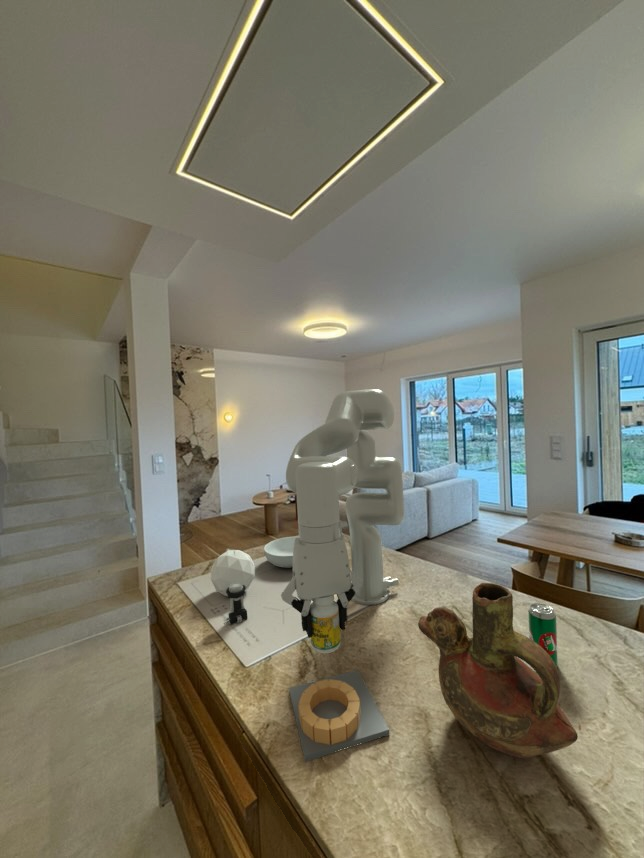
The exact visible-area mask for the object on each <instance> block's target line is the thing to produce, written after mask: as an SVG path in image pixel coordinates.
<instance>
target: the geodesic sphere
mask: <svg viewBox="0 0 644 858" xmlns="http://www.w3.org/2000/svg"><path fill="white" fill-rule="evenodd" d="M225 550H226V551H225V552H223V553H222V554H221V555H219V556H218V557H217V558H216V560H215V561H214V563H213V564H212V566H211V568H210V571H211V572H210V580H211V583H212V585H213V587H214V589H215V592H218V593H220V594H222V595H224V596H226V597H228V595H227V593H226V589H227V588H228V587H229V586H230V585H231V584H233V583H237V582H239V583H242V585H244V586H245V587H246V590H248V589H249V587H250V586H251V584H252V582H253V581H254V579H255V575H256V574H255V572H256V567H255V563H254V561H253V559H252V557H251V556H250V554H248V553H246V552H245V551H242V550H240V549H235V548H234V549H233V548H230V547H229V548H226V549H225Z"/></svg>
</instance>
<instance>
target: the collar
mask: <svg viewBox="0 0 644 858" xmlns="http://www.w3.org/2000/svg"><path fill="white" fill-rule="evenodd" d="M326 700H335V701H339V702H341V703H342V704H344V705H345V706H346V707H347V710H346V711H345V712H344V713H343V714H342V715H341V716H340V717H337V718H334V719H330V720H329V719H323V718H319V717H318V716H316V715H315V714H314V713H313V712H312V710H313V708H314V707H315V706H316V705H317V704H319V703H320V702H322V701H326ZM298 708H299V720H300V724H301V728H302V730H303V732H304V733H305V734H306V735H307V736H308V737H309V738H310V739H312V740H313V741H314V740H315V742H319V743H324V744H329V745H330V742H331V744H335V743H338V742H341V741H345V740H346V738H349V737H350V736H351V735H352V734H353V733H354V732H355V731H356V730H357V729H358V727H359V722H360V716H361V711H360V699H359V697H358V695H357V693H356V691H355V690H354V688H353V687H351V686H350V685H348V684H347V683H345V682H343V683H342V681H339V680H332V679H329V681H328V679H327V680H323V681H319V682H315V684H314V683H313V684H312V685H311V686H309V687H308V688H307V689H306V690H305V691H304V692H303V693H302V696H301V698H300V701H299V703H298Z"/></svg>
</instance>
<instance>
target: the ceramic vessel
mask: <svg viewBox="0 0 644 858" xmlns="http://www.w3.org/2000/svg"><path fill="white" fill-rule="evenodd" d="M513 599H514V597H513V594H512V592H511V591H510V590H509V589H508V588H507V587H505V586H502V585H501V584H498V583H493V582H481V583H479V584H478V585H477V586H475V587H474V589H473V591H472V602H471V603H472V618H471V619H472V637H469V636H468V634H467V628H466V626H465V624H464V622H463V621H462V619H461V618H459V616H458V615H457V614H456V612H454V611H453V610H451V609H449V608H445V607H443V606H442V607H436V608H433V609H432V611H429V612H428V613H427V616H425V615H424V616H420V618H419V619H418V623H417V625H418V629H419V631H421V633H422V634H423V635H425V636H426V637H427V638H428V639H429V640H430V641H432V642H433V643H434V644H435V645H436V646H437V647H438V649H439V663H438V680H439V686H440V689H441V694H442V697H443V699H444V702H445V703H446V705H447V707H448V708H449V710H450V711H451V713H452V715H453V717H454V718H455V719H456V721H457V722H459V723H460V724H461V725H462V726H463V728H465V729H466V730H467V731H468V732H469V733H470V734H472V735H473V736H474V737H476V738H478V739H479V740H480V741H481V742H482V743H483V744H485V745H487V746H488V747H490V748H492V749H493V750H496V751H498V752H500V753H501V752H502V753H503V754H507V755H508V756H511V757H515V758H520V759H528V758H531V757H534V756H540V755H547V754H551V753H553V752H557V751H559V750H560V751H561V750H563V749H566V748H567V747H569V746H571V745H573V744H574V743H576V741H577V740H578V733H577V731H576V729H575V728H574V726H573V724H572V723H571V722H570V721H569V719H568V717H567V716H566V714H565V712H564V711H563V710H562V709H561V707H560V706H559V704H558V701H559V697H560V693H561V692H560V691H561V679H560V674H559V672H558V667H557V666H556V665H555V663H554V661H553V660H552V658H551V657H550V655H549V654H548V653H547V652H546V651H545V650H544V649H543V648H542V647H541V646H540V645H538V644H537V643H536V642H534V641H533V640H531V639H530V638H529V637H527V636H526V635H524V634H522V633H519V632H518V631H515V630H514V626H513V625H514V624H513V621H514V606H513V602H514V601H513Z"/></svg>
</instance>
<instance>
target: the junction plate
mask: <svg viewBox="0 0 644 858" xmlns="http://www.w3.org/2000/svg"><path fill="white" fill-rule="evenodd" d="M327 679H328V681H329V679H332V680H339V681H342V683H343V682H345V683H347V684H348V685H350V686H351V687H353V688H354V690H355V691H356V693H357V695H358V697H359V699H360V711H361V716H360V722H359V727H358V729H357V730H356V731H355V732H354V733H353V734H352V735H351V736H350V737H349V738H346V740H345V741H341V742H338V743H335V744H331V742H330V745H329V744H324V743H319V742H315V740H314V741H313V740H312V739H310V738H309V737H308V736H307V735H306V734H305V733H304V732H303V730H302V728H301V724H300V720H299V708H298V703H299V701H300V698H301V696H302V693H303V692H304V691H305V690H306V689H307V688H308V687H309V686H311V685H312V684H313V683H314V684H315V682H319V681H323V680H327ZM288 690H289V696H290V701H291V705H292V709H293V713H294V718H295V722H296V726H297V730H298V731H297V733H298V737H299V740H300V745H301V749H302V752H303V753H302V754H303V758H304V762H309V761H313V760H315V759H318V758H321V756H322V757H325V756H328V755H331V754H333V752H335V751H338V750H340V749H344V748H347V747H350V746H353V747H355V746H354V745H357V744H360V743H363V744H365V743H364V742H366V743H369V742H372V741H374V740H373V739H375V740H378V739H377V738H379V737H380V738H379V739H381V737H382V736H385V735H386V736H385V737H387V735H388V736H390V735H391V734H390V728H389V726H388V724H387V722H386V721H385V718H384V716H383V714H382V713H381V711H380V708H379V707H378V705H377V703H376V701H375V700H374V697H373V696H372V694H371V692H370V689H369V688H368V686H367V684H366V682H365V680H364V679H363V677H362V674H361V673H360V671H359V669H357V670H353V671H348V672H345V673H341V674H337V675H333V676H329V677H326V678H322V679H318V680H313V681H310V682H306V683H303V684H299V685H296V686H292V687H290V686H289V687H288ZM346 710H347V707H346V706H345V705H344V704H342V703H341V702H339V701H335V700H326V701H322V702H320V703H319V704H317V705H316V706H315V707H314V708H313V710H312V712H313V713H314V714H315V715H316V716H318V717H319V718H323V719H329V720H330V719H334V718H337V717H340V716H341V715H342V714H343V713H344V712H345V711H346ZM389 734H390V735H389ZM382 738H383V737H382ZM371 740H372V741H371ZM368 741H369V742H368ZM360 745H361V744H360ZM357 746H358V745H357ZM350 748H351V747H350ZM347 749H348V748H347ZM344 750H345V749H344ZM338 752H339V751H338ZM330 753H331V754H330ZM335 753H336V752H335ZM327 754H328V755H327Z"/></svg>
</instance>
